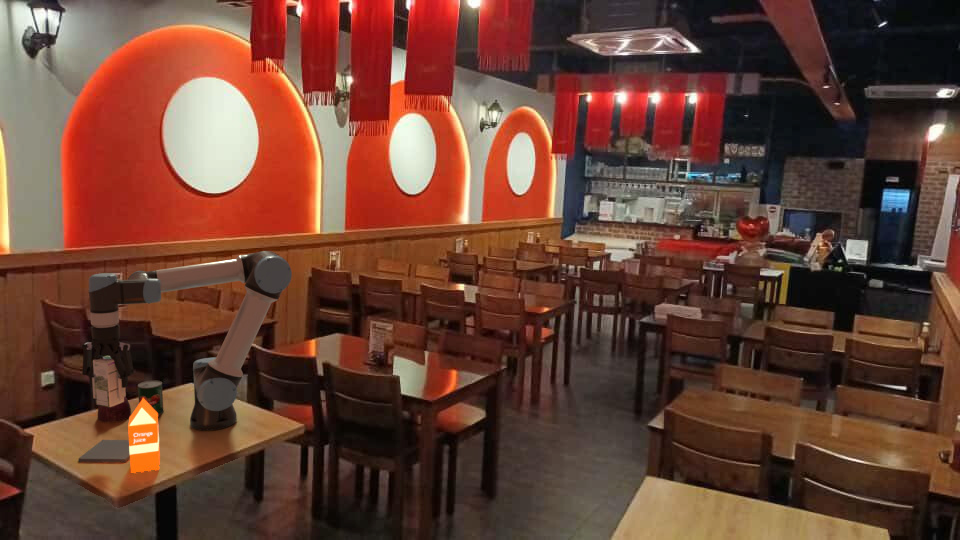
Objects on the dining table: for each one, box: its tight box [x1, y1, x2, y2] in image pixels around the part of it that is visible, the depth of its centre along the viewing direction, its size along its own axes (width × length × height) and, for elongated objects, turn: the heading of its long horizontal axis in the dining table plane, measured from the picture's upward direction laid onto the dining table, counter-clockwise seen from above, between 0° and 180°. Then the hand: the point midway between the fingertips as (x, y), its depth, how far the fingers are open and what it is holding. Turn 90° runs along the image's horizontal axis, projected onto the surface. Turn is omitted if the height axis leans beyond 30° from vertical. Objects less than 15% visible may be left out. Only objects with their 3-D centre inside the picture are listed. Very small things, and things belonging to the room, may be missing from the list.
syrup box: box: [92, 355, 124, 407], centre depth 209 cm, size 6×6×14 cm
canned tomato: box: [137, 380, 165, 416], centre depth 245 cm, size 8×8×11 cm
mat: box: [78, 439, 130, 463], centre depth 213 cm, size 14×14×1 cm
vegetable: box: [97, 396, 132, 423], centre depth 239 cm, size 10×10×15 cm
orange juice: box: [127, 398, 161, 474], centre depth 203 cm, size 8×9×20 cm
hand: (109, 397), depth 210 cm, fingers closed on syrup box, 7 cm apart
